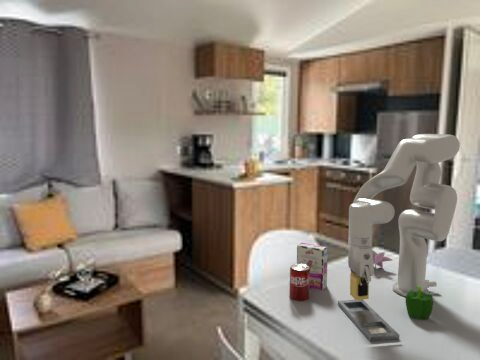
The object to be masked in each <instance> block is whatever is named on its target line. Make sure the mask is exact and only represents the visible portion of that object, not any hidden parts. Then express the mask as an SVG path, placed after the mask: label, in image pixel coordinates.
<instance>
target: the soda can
mask: <svg viewBox="0 0 480 360" xmlns="http://www.w3.org/2000/svg"><path fill="white" fill-rule="evenodd" d="M310 290H311V288H310V268H309V266H307V265H304V264H297V263H294V264H291V266H290V268H289V290H288V291H289V294H288V295H289V298H290V300H293V301H294V302H295V301H296V302H305V301H308V300H309V299H310V295H311V294H310Z"/></svg>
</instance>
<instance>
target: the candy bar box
mask: <svg viewBox="0 0 480 360" xmlns="http://www.w3.org/2000/svg"><path fill="white" fill-rule="evenodd" d="M296 249H297V250H296V264H304V265H307V266H309V268H310V289H316V290H321V291H323V290H324V289H326V288H327V287H328V262H329V261H328V260H329V259H328V257H329V254H328V251H329V250H328V249H329V246H323V245H318V244H313V243H312V244H311V243H305V242H301V243H299V244H297V246H296Z"/></svg>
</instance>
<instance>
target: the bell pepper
mask: <svg viewBox="0 0 480 360" xmlns="http://www.w3.org/2000/svg"><path fill="white" fill-rule="evenodd" d="M417 288H418V291H412V290H410V291H409V292H408V294H407V296H405V306H406V311H407V314H408V316H409V317H411V318H412V319H413V318H414V319H416V320H427V319H428V318H430V317H431V313H432V311H433V310H434V309H433V308H434V299H433V296H432V294H430V293H429V294H425V293H424V292H422V291H421V287H420V286H418V285H417Z"/></svg>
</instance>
